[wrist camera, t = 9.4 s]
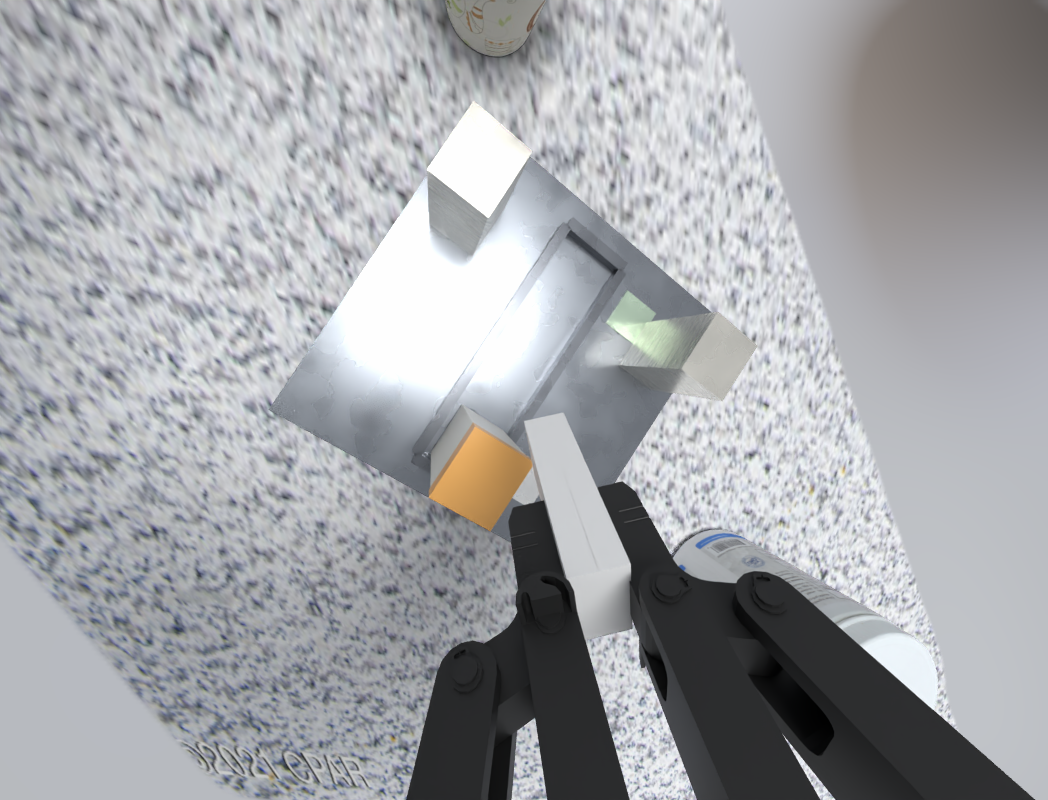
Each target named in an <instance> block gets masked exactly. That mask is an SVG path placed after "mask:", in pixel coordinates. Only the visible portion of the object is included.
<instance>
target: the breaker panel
mask: <svg viewBox="0 0 1048 800" xmlns="http://www.w3.org/2000/svg"><path fill="white" fill-rule="evenodd" d="M532 152H533V151H532V150H530V149H529V148H528V147H527V146H526V145H525V144H523V143H522V142H521V141H520V140H519V139H518V138H516V137H515V136H514V135H513V134H512V133H511V132H510V131H508V130H507V129H506V128H505V127H504V126H503V125H501V124H500V123H499V122H498V121H497V120H496V119H495V118H493V117H492V116H491V115H490V114H489V113H488V112H486V111H485V110H484V109H483V108H482V107H481V106H479V105H478V104H477V103H476V102H475V101H473V102H472V104H471V105H470V107H469V108H468V110H467V111H466V113H465V114H464V116H463V117H462V118H461V120H460V121H459V123H458V124H457V126H456V127H455V129H454V130H453V132H452V133H451V135H450V136H449V138H448V139H447V141H446V142H445V144H444V145H443V147H442V148H441V150H440V151H439V153H438V154H437V155H436V157H435V158H434V160H433V161H432V163H431V164H430V166H429V167H428V169H427V176H426V177H425V179H424V180H423V182H422V183H421V185H420V186H419V188H418V189H417V191H416V192H415V194H414V195H413V197H412V198H411V200H410V201H409V203H408V204H407V206H406V207H405V209H404V210H403V212H402V213H401V215H400V216H399V217H398V219H397V220H396V222H395V223H394V225H393V226H392V228H391V229H390V231H389V232H388V234H387V235H386V237H385V238H384V240H383V241H382V243H381V244H380V246H379V247H378V249H377V250H376V252H375V253H374V255H373V256H372V257H371V259H370V260H369V262H368V263H367V265H366V266H365V268H364V269H363V271H362V272H361V274H360V275H359V277H358V278H357V280H356V281H355V283H354V284H353V286H352V287H351V289H350V290H349V292H348V293H347V295H346V296H345V297H344V299H343V300H342V302H341V303H340V305H339V306H338V308H337V309H336V311H335V312H334V314H333V315H332V317H331V318H330V320H329V321H328V323H327V324H326V326H325V327H324V329H323V330H322V332H321V333H320V335H319V336H318V337H317V339H316V340H315V342H314V343H313V345H312V346H311V348H310V349H309V351H308V352H307V354H306V355H305V357H304V358H303V360H302V361H301V363H300V364H299V366H298V367H297V369H296V370H295V372H294V373H293V375H292V376H291V377H290V379H289V380H288V382H287V383H286V385H285V386H284V388H283V389H282V391H281V392H280V394H279V395H278V397H277V398H276V400H275V401H274V403H273V404H272V406H271V407H270V409H269V410H270V411H272V412H274V413H276V414H277V415H279V416H281V417H283V418H285V419H286V420H288V421H290V422H292V423H294V424H296V425H297V426H299V427H301V428H303V429H305V430H307V431H308V432H310V433H312V434H314V435H316V436H318V437H319V438H321V439H323V440H325V441H327V442H329V443H330V444H332V445H334V446H336V447H338V448H340V449H341V450H343V451H345V452H347V453H349V454H350V455H352V456H354V457H356V458H358V459H360V460H361V461H363V462H365V463H367V464H369V465H371V466H372V467H374V468H376V469H378V470H380V471H382V472H383V473H385V474H387V475H389V476H391V477H393V478H394V479H396V480H398V481H400V482H402V483H404V484H405V485H407V486H409V487H411V488H413V489H414V490H416V491H418V492H420V493H422V494H424V495H425V496H427V497H429V488H430V481H431V451H432V449H433V448H434V446H435V445H436V443H437V442H438V440H439V439H440V437H441V436H442V434H443V433H444V431H445V430H446V428H447V427H448V425H449V424H450V422H451V421H452V419H453V418H454V416H455V415H456V413H457V412H458V410H459V408H460V407H461V405H464V406H466V407H467V408H469V409H470V410H472V411H474V412H475V413H477V414H478V415H480V416H482V417H483V418H485V419H486V420H488V421H489V422H491V423H493V424H494V425H496V426H497V427H499V428H501V429H502V430H503V431H504V432H505V433H506V434H507V435H508V436H509V437H510V438H511V440H512V441H513V442H514V443H515V444H516V445H517V446H518V447H519V448H520V449H521V450H522V452H523V453H524V454H525V455H526V456H528V457H529V458H530V459H531V455H530V450H529V445H528V440H527V434H526V429H525V424H524V421H526V420H531V419H535V418H540V417H545V416H549V415H554V414H558V413H564V415H565V417H566V419H567V422H568V424H569V426H570V428H571V431H572V433H573V435H574V437H575V440H576V442H577V444H578V446H579V449H580V451H581V453H582V455H583V458H584V460H585V462H586V464H587V467H588V469H589V471H590V473H591V476H592V478H593V480H594V482H595V485H596V487H600V486H605V485H609V484H613V483H615V481H616V480H617V478H618V477H619V475H620V473H621V472H622V470H623V469H624V467H625V466H626V464H627V463H628V461H629V459H630V458H631V456H632V455H633V453H634V452H635V450H636V449H637V447H638V445H639V444H640V442H641V441H642V439H643V438H644V436H645V435H646V433H647V431H648V430H649V428H650V427H651V425H652V424H653V422H654V420H655V419H656V417H657V416H658V414H659V413H660V411H661V410H662V408H663V406H664V405H665V403H666V402H667V400H668V399H669V397H670V396H671V394H672V393H675V394H681V395H687V396H693V397H700V398H706V399H712V400H718V401H723V399H724V398H725V396H726V395H727V393H728V392H729V390H730V388H731V387H732V385H733V384H734V382H735V381H736V379H737V377H738V376H739V374H740V373H741V371H742V370H743V368H744V366H745V365H746V363H747V362H748V360H749V359H750V357H751V355H752V354H753V352H754V351H755V349H756V348H757V345H756V344H755V343H753V342H752V341H751V340H750V339H749V338H748V337H747V336H745V335H744V334H743V333H742V332H741V331H740V330H738V329H737V328H736V327H735V326H734V325H733V324H732V323H730V322H729V321H728V320H727V319H726V318H725V317H723V316H722V315H721V314H720V313H719V312H713V313H711V312H710V311H709V310H708V309H707V308H706V307H704V306H703V305H702V304H701V303H700V302H699V301H697V300H696V299H695V298H694V297H693V296H692V295H690V294H689V293H688V292H687V291H686V290H685V289H683V288H682V287H681V286H680V285H679V284H678V283H676V282H675V281H674V280H673V279H672V278H671V277H670V276H668V275H667V274H666V273H665V272H664V271H663V270H661V269H660V268H659V267H658V266H657V265H656V264H654V263H653V262H652V261H651V260H650V259H649V258H647V257H646V256H645V255H644V254H643V253H642V252H640V251H639V250H638V249H637V248H636V247H635V246H633V245H632V244H631V243H630V242H629V241H628V240H626V239H625V238H624V237H623V236H622V235H621V234H619V233H618V232H617V231H616V230H615V229H614V228H612V227H611V226H610V225H609V224H608V223H607V222H605V221H604V220H603V219H602V218H601V217H600V216H598V215H597V214H596V213H595V212H594V211H593V210H592V209H590V208H589V207H588V206H587V205H586V204H585V203H583V202H582V201H581V200H580V199H579V198H578V197H576V196H575V195H574V194H573V193H572V192H571V191H569V190H568V189H567V188H566V187H565V186H564V185H562V184H561V183H560V182H559V181H558V180H557V179H555V178H554V177H553V176H552V175H551V174H550V173H548V172H547V171H546V170H545V169H544V168H543V167H541V166H540V165H539V164H538V163H537V162H536V161H534V160H533V159H532V158H531V157H530V156H531V154H532ZM539 501H541V499H540V495H539V491H538V488H537V484H536V480H535V476H534V471H533V467H532V468H531V470H530V471H529V473H528V474H527V476H526V477H525V479H524V480H523V482H522V484H521V485H520V487H519V488H518V490H517V491H516V493H515V494H514V496H513V497H512V499H511V500H510V502H509V504H508V505H507V507H506V508H505V510H504V511H503V513H502V514H501V516H500V517H499V519H498V520H497V522H496V524H495V525H494V527H493V528H492V530H491V532H493V533H495V534H497V535H499V536H500V537H502V538H504V539H506V540H508V541H510V542H511V537H510V531H509V524H508V521H509V518H510V515H511V511H512V508H513V507H517V506H521V505H525V504H530V503H534V502H539Z"/></svg>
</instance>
